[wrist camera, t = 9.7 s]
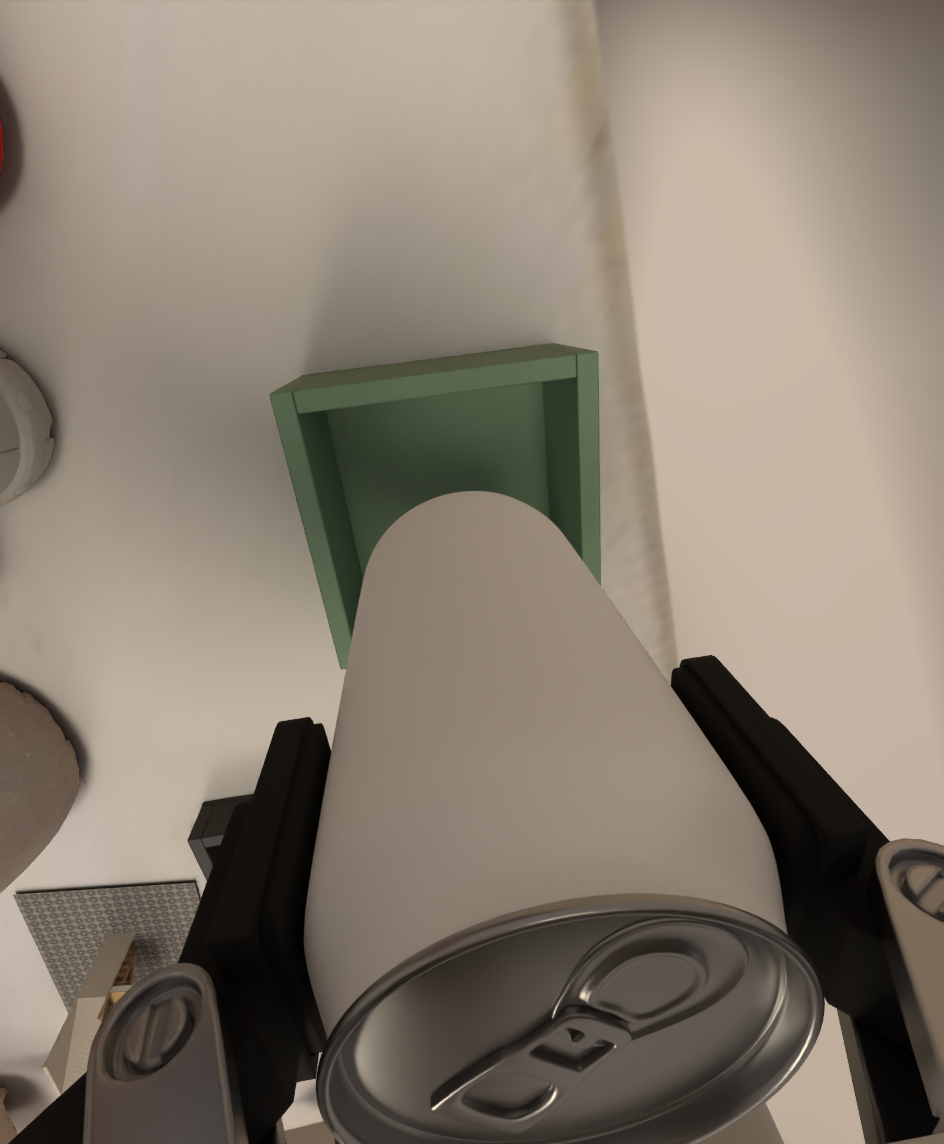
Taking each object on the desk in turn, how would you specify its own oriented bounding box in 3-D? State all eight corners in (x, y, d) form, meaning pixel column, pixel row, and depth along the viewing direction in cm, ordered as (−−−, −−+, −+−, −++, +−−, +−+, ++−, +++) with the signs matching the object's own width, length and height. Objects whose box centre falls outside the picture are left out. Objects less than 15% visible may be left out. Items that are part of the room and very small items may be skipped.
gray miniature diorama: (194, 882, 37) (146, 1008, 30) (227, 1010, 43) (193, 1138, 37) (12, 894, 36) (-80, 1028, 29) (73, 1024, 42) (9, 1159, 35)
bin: (354, 601, 30) (340, 670, 24) (301, 375, 25) (268, 393, 19) (565, 570, 30) (601, 630, 24) (555, 343, 25) (598, 351, 19)
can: (615, 567, 17) (974, 1003, 6) (484, 706, 19) (584, 1235, 8) (452, 438, 15) (565, 763, 4) (320, 608, 17) (152, 1154, 6)
